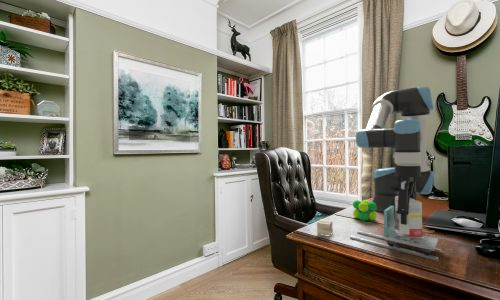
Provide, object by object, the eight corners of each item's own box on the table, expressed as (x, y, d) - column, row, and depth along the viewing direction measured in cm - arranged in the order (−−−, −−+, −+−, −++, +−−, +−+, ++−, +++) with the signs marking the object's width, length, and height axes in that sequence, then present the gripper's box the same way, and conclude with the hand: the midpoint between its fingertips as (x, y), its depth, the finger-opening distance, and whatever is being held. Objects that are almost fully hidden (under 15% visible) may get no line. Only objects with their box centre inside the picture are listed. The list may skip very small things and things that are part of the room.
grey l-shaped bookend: (391, 237, 90) (391, 205, 90) (438, 247, 80) (438, 212, 80) (383, 245, 83) (383, 210, 83) (434, 258, 73) (433, 218, 73)
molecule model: (366, 215, 121) (351, 217, 119) (366, 198, 121) (351, 199, 119) (378, 221, 112) (362, 222, 111) (378, 202, 112) (362, 203, 111)
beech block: (320, 230, 101) (320, 219, 101) (332, 232, 98) (332, 221, 98) (317, 234, 96) (317, 222, 96) (329, 236, 94) (329, 224, 94)
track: (358, 232, 98) (358, 230, 98) (441, 251, 79) (441, 249, 79) (349, 238, 92) (349, 236, 92) (437, 261, 73) (437, 258, 73)
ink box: (423, 237, 77) (423, 201, 77) (407, 237, 78) (406, 201, 77) (409, 228, 85) (408, 196, 85) (394, 228, 86) (394, 196, 86)
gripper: (402, 162, 92) (403, 220, 92) (385, 166, 76) (386, 235, 76) (426, 163, 86) (426, 224, 87) (413, 167, 71) (414, 242, 71)
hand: (407, 229), depth 81 cm, fingers closed on ink box, 9 cm apart
